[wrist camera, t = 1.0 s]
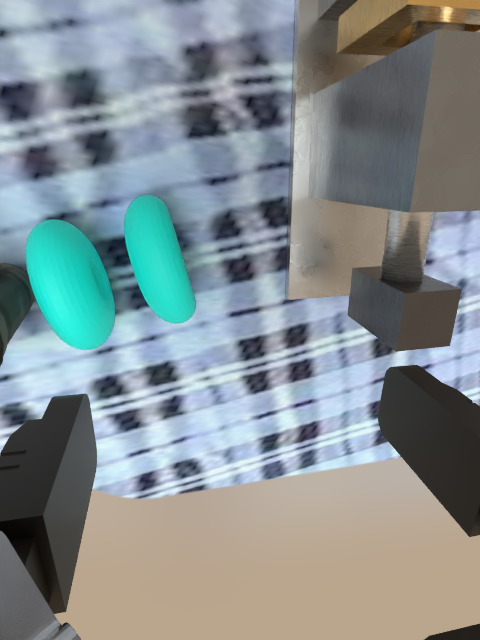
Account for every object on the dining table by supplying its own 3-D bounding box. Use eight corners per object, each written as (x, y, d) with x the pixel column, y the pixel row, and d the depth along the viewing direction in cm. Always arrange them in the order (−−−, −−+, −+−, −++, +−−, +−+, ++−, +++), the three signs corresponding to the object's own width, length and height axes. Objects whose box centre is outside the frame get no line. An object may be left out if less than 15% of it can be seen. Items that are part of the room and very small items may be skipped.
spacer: (338, 17, 25) (414, -50, 17) (447, 24, 26) (559, -35, 19) (336, 53, 25) (407, 4, 18) (441, 58, 27) (547, 14, 19)
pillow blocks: (296, -51, 28) (446, -299, 13) (417, -39, 30) (667, -247, 15) (285, 296, 38) (364, 374, 23) (376, 290, 40) (504, 358, 25)
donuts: (44, 218, 31) (-4, 236, 22) (162, 188, 32) (163, 193, 23) (90, 325, 35) (66, 378, 26) (194, 295, 36) (206, 336, 27)
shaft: (387, -94, 22) (480, -205, 16) (448, -87, 23) (561, -190, 16) (347, 315, 31) (396, 351, 25) (391, 311, 32) (449, 345, 26)
